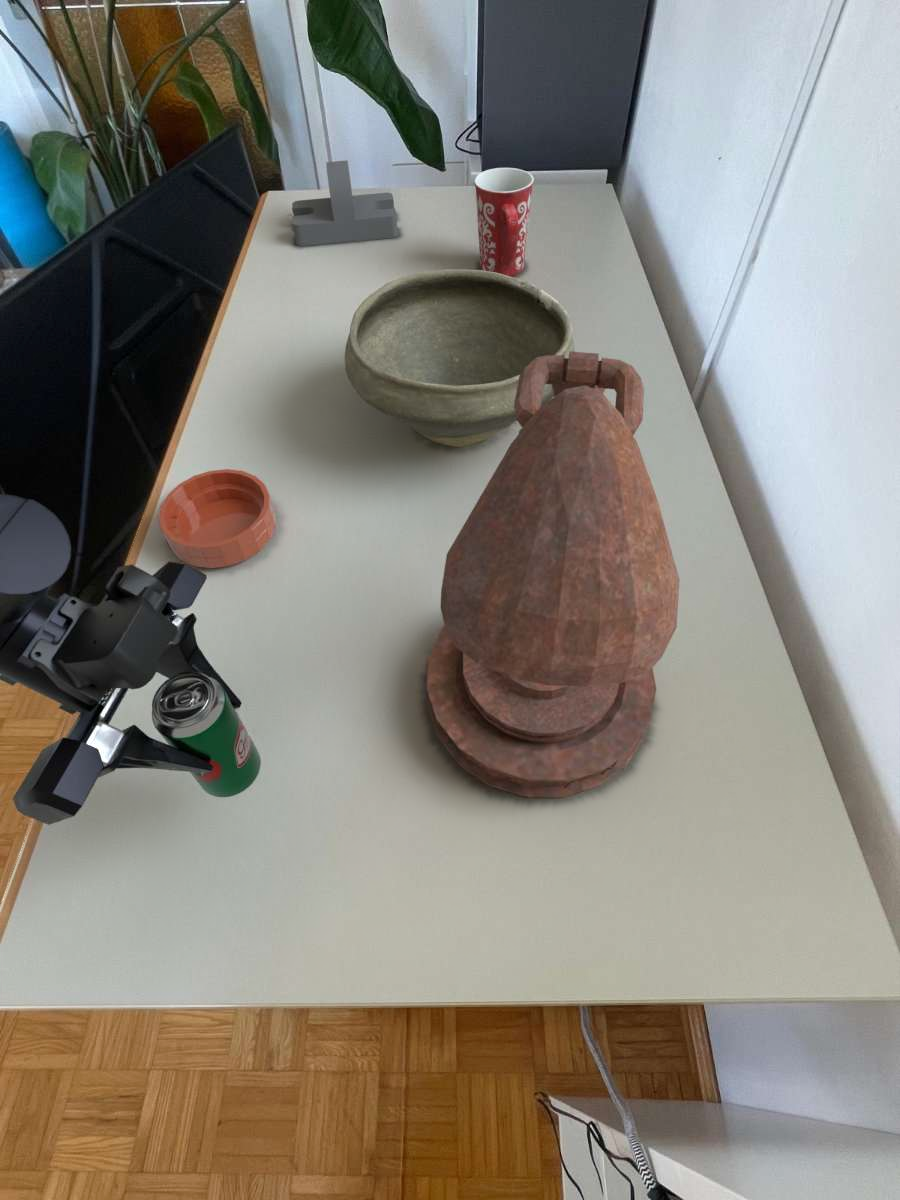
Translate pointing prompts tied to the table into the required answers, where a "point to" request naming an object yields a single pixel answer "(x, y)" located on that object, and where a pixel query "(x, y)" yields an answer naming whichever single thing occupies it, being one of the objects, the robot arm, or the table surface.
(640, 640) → the rusty bell weight
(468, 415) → the bowl
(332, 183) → the bracket
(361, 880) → the table surface
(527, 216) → the mug
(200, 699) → the soda can
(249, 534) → the dish
